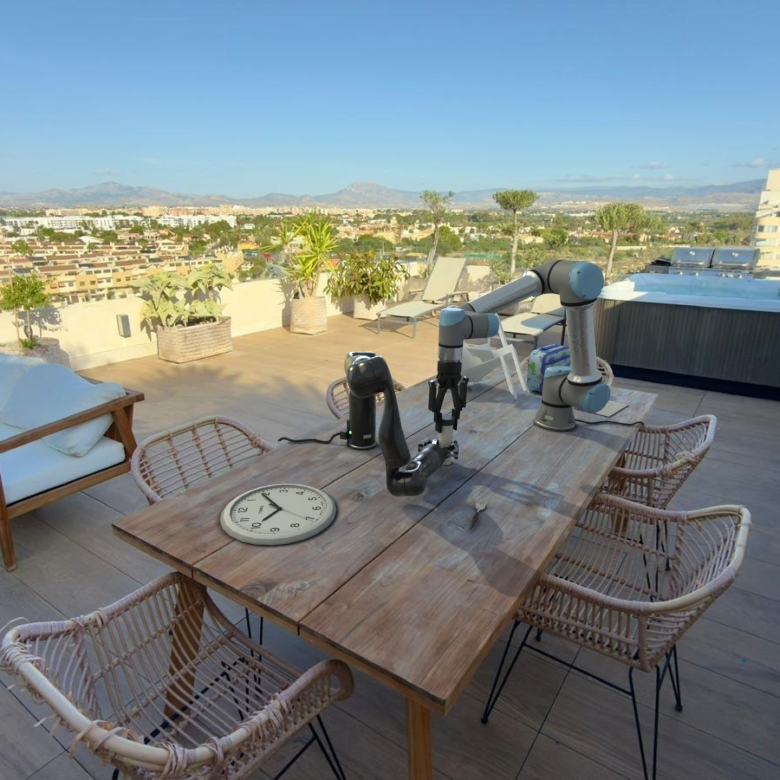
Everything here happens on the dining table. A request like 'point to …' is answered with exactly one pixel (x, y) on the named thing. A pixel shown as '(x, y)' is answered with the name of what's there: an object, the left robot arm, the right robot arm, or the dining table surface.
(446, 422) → the lid
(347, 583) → the dining table surface
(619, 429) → the dining table surface
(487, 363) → the white plastic object
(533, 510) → the dining table surface
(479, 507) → the fork
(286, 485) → the wall clock
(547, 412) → the right robot arm
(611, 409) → the invitation card
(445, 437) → the jar
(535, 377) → the lunch box
